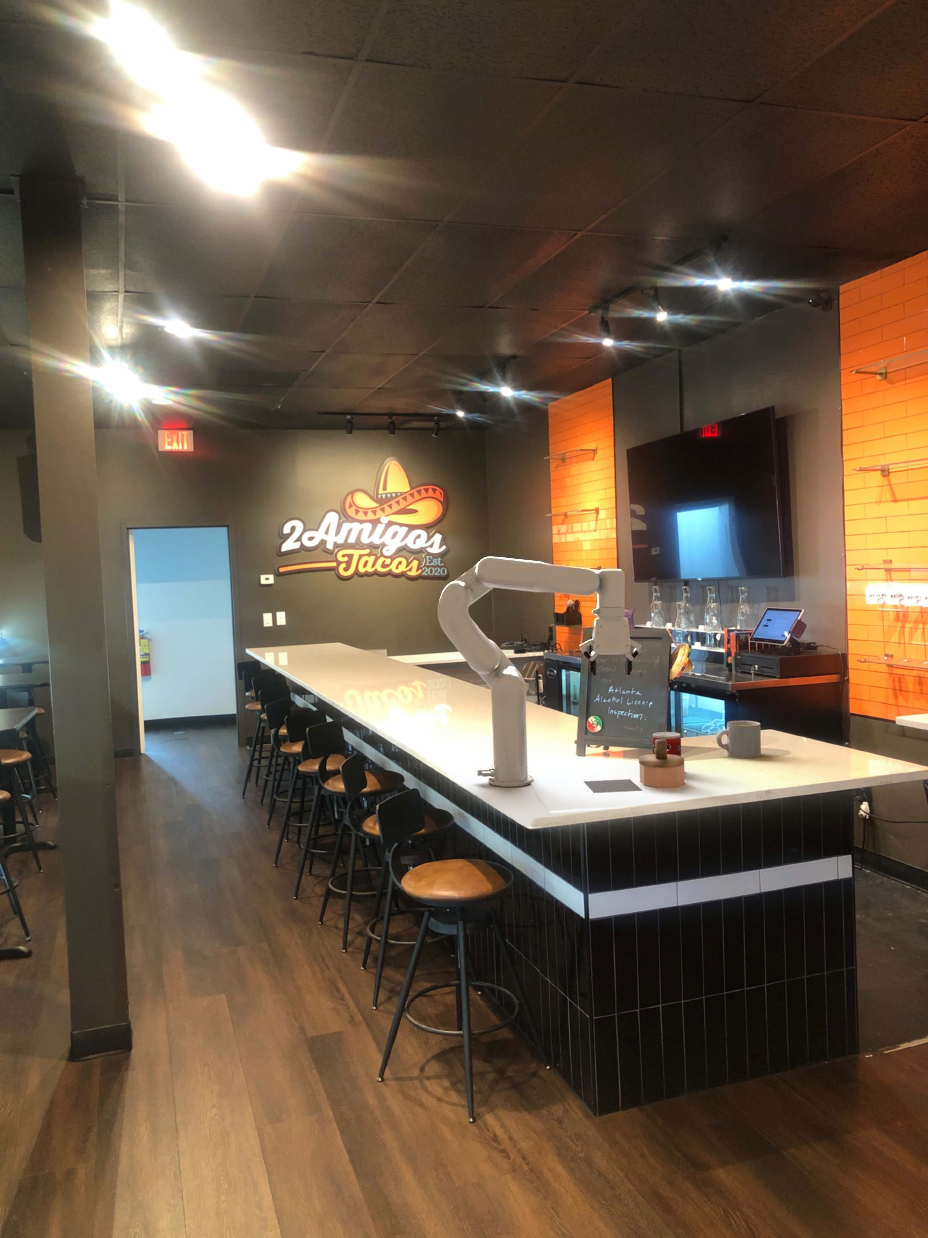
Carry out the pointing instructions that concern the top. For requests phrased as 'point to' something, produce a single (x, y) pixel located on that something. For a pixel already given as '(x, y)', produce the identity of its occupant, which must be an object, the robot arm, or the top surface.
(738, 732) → the coffee mug
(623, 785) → the mat
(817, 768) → the top surface
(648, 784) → the bowl
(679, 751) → the canned food
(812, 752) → the top surface
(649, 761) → the lid
